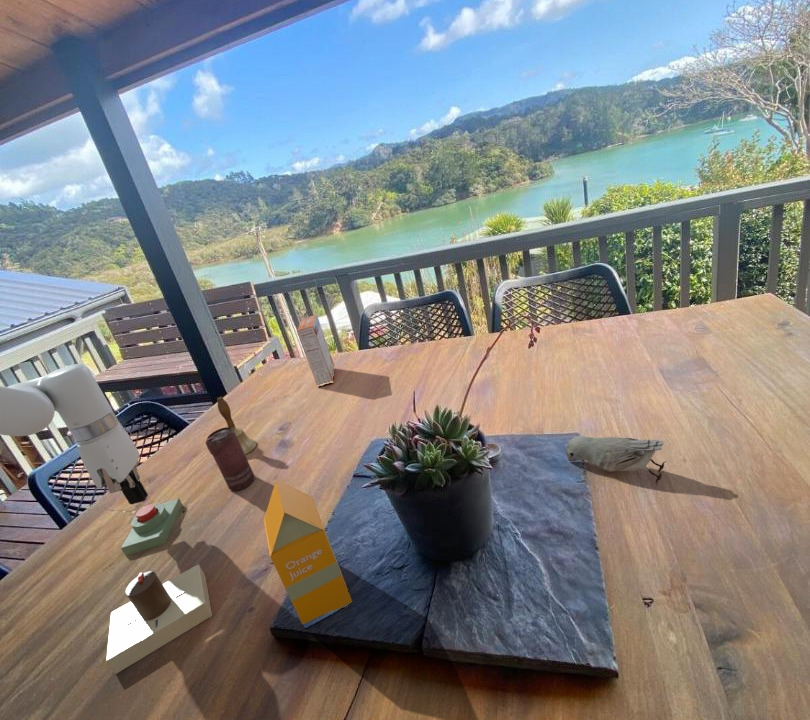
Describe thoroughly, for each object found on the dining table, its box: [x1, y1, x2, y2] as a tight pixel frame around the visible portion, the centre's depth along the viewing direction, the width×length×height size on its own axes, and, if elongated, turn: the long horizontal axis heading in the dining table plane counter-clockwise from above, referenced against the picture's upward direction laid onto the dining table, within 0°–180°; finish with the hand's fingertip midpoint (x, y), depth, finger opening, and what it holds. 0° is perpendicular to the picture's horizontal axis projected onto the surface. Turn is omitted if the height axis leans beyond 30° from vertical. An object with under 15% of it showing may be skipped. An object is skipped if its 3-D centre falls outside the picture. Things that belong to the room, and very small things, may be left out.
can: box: [205, 426, 255, 492], centre depth 99 cm, size 6×6×14 cm
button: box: [135, 503, 157, 523], centre depth 92 cm, size 4×4×2 cm
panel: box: [105, 564, 213, 675], centre depth 70 cm, size 14×10×3 cm
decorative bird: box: [565, 435, 668, 486], centre depth 76 cm, size 5×16×8 cm, turn 55°
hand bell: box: [216, 396, 258, 456], centre depth 114 cm, size 8×8×16 cm
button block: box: [120, 497, 184, 556], centre depth 93 cm, size 12×8×4 cm, turn 10°
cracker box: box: [296, 314, 335, 386], centre depth 146 cm, size 14×6×21 cm, turn 6°
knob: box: [124, 570, 171, 620], centre depth 68 cm, size 4×4×6 cm
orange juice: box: [263, 478, 353, 625], centre depth 64 cm, size 8×9×20 cm
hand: (139, 500), depth 91 cm, fingers closed
